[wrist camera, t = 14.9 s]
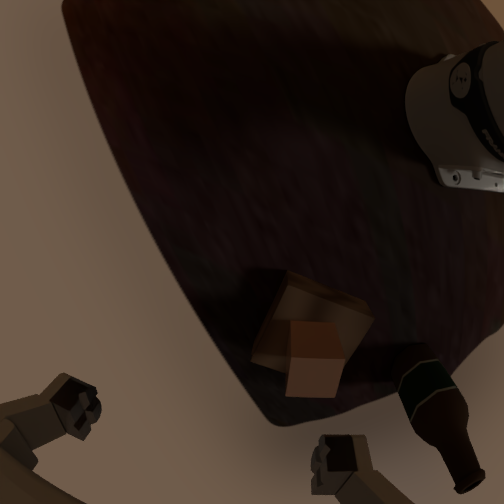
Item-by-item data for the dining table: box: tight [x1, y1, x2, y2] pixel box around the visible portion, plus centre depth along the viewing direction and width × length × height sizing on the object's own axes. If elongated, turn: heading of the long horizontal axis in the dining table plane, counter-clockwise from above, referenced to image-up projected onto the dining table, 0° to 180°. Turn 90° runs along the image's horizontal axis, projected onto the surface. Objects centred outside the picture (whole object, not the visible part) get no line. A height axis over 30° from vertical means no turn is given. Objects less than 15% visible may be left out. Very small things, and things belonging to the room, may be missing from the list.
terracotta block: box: [285, 320, 345, 398], centre depth 28 cm, size 5×5×7 cm
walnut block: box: [250, 270, 375, 373], centre depth 34 cm, size 11×11×5 cm
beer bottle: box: [391, 344, 485, 494], centre depth 25 cm, size 8×8×24 cm
